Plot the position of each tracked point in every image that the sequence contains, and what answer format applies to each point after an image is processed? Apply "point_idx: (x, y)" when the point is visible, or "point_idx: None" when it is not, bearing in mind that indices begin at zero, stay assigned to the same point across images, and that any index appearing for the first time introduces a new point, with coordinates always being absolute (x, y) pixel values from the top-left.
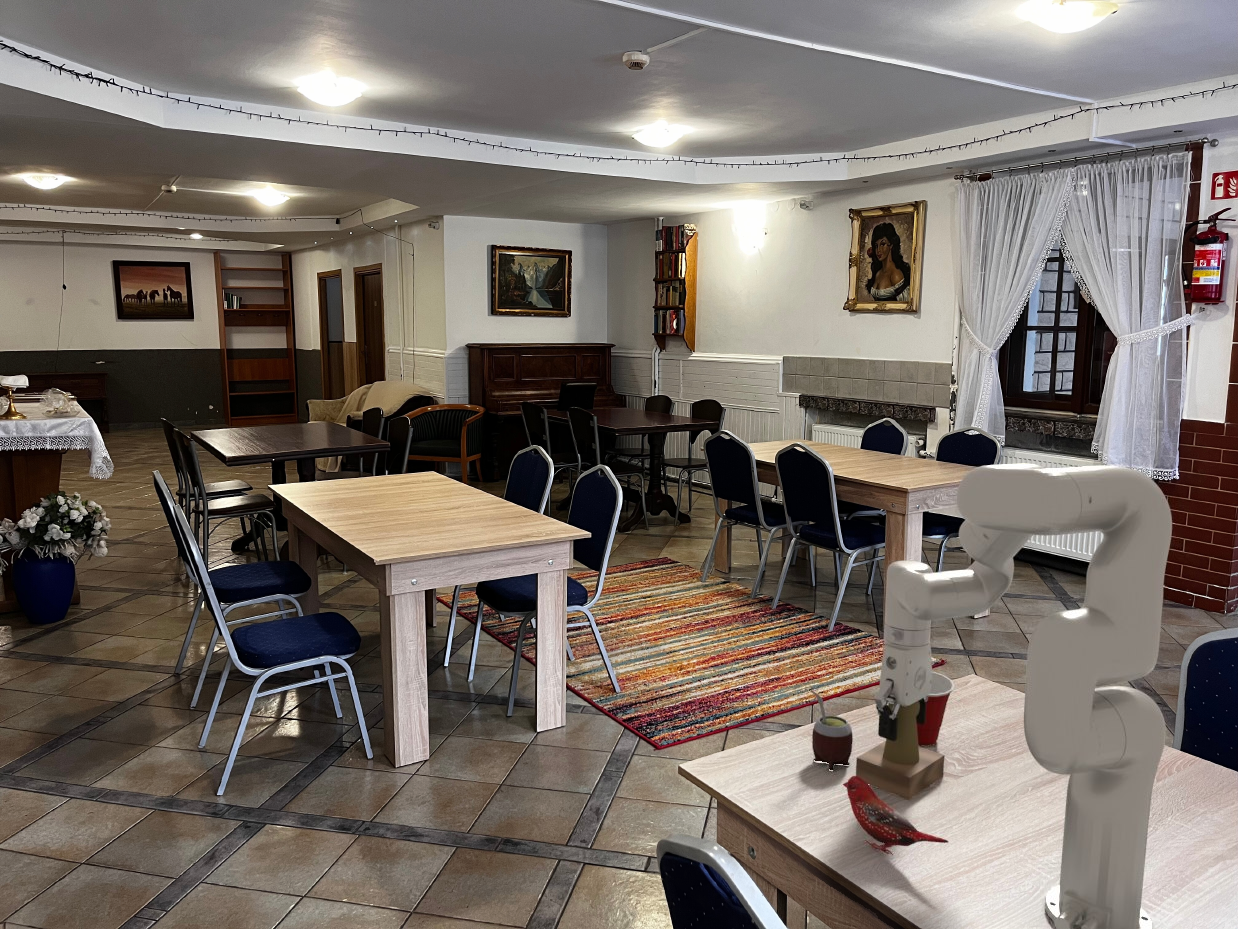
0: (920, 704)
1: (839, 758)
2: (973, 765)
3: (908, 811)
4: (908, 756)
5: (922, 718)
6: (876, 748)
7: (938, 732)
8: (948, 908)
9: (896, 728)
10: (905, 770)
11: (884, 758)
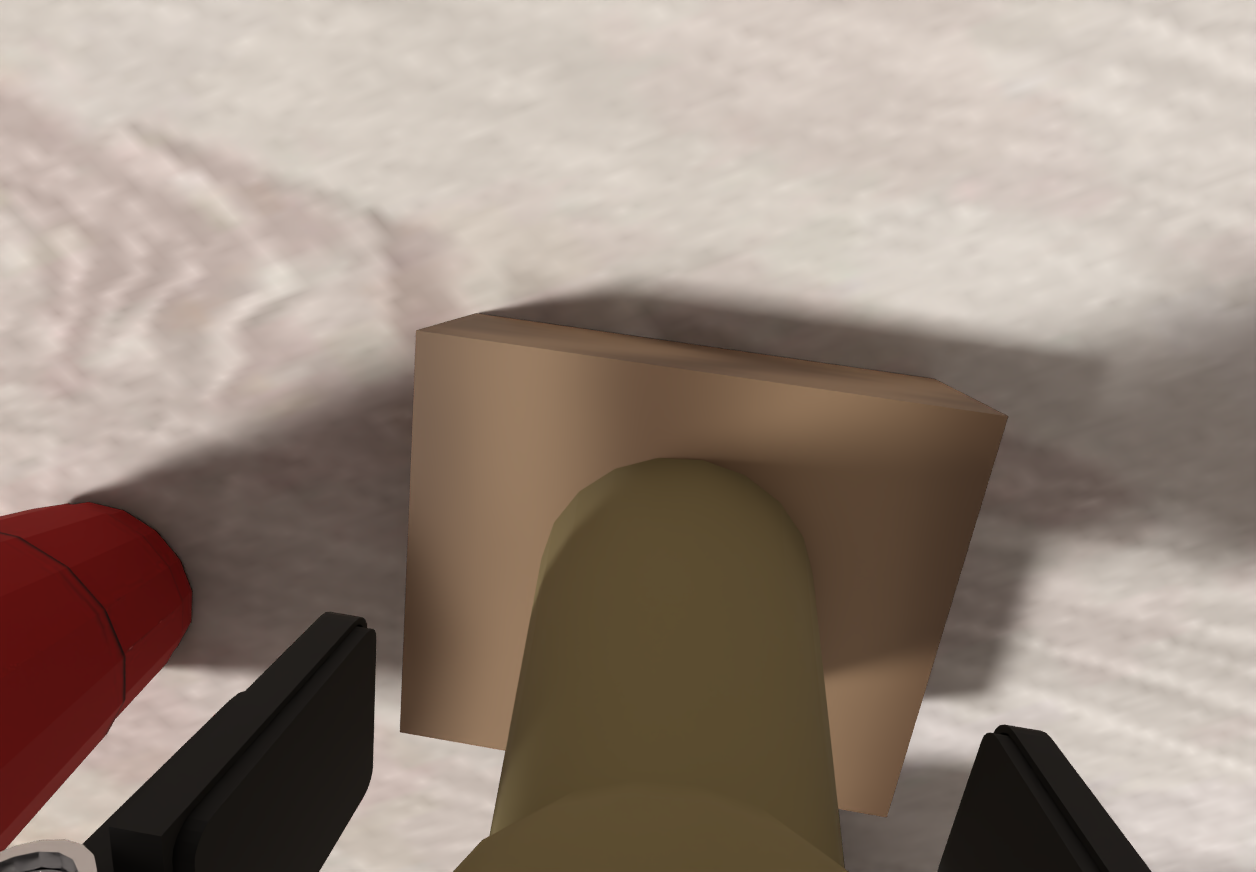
0: (216, 867)
1: None
2: (176, 207)
3: (1084, 329)
4: (780, 533)
5: (338, 672)
6: None
7: (8, 518)
8: None
9: (1129, 861)
10: (897, 486)
11: None
